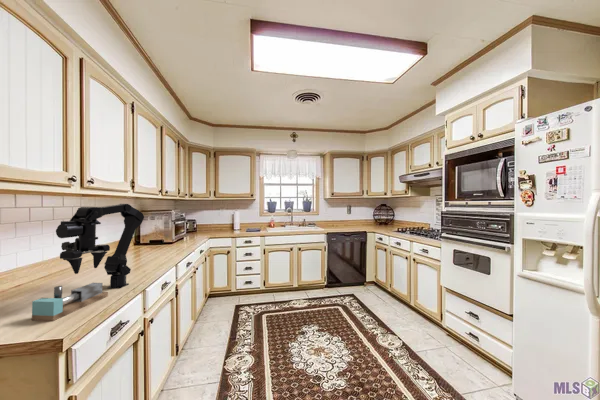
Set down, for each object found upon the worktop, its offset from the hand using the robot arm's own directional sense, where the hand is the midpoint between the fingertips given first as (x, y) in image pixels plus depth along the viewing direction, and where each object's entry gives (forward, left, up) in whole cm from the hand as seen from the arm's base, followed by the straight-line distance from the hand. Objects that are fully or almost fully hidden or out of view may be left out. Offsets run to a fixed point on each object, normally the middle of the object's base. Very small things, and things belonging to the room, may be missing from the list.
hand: (86, 270), depth 108 cm
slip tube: (+13, +4, -9) cm, 16 cm away
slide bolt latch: (+9, +4, -12) cm, 15 cm away
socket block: (+19, +4, -10) cm, 22 cm away
